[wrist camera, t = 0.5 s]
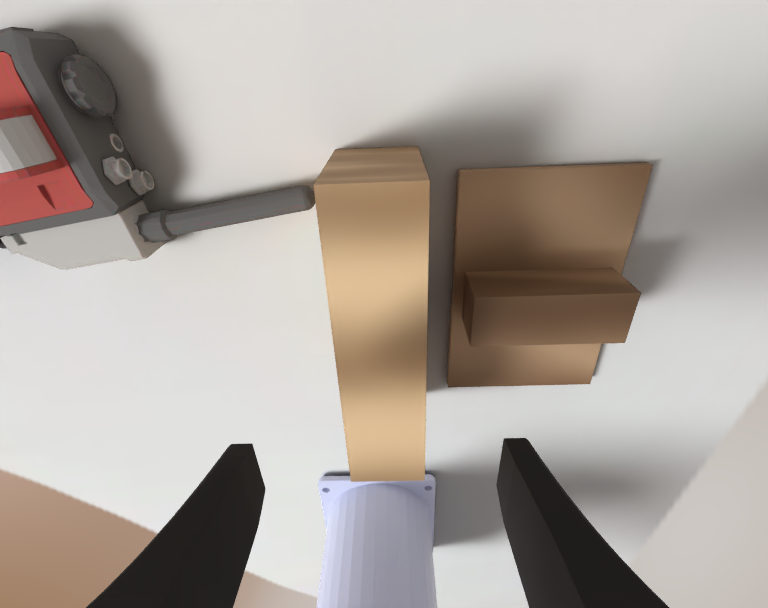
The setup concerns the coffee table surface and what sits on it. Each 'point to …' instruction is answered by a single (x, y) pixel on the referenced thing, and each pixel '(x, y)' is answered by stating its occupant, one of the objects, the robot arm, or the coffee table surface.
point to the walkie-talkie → (86, 165)
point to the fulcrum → (541, 271)
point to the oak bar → (378, 304)
